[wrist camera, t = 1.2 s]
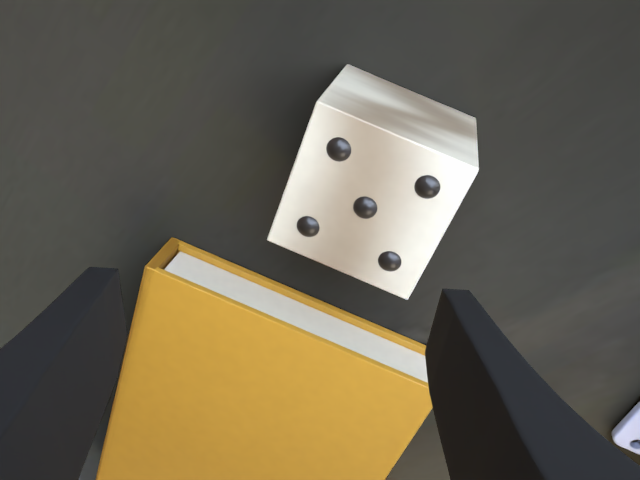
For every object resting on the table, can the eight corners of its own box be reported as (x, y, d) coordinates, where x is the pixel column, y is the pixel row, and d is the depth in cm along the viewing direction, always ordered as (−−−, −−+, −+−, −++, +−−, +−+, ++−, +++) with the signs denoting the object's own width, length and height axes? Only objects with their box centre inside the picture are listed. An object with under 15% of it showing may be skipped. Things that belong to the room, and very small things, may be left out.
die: (476, 118, 21) (480, 172, 16) (418, 231, 23) (406, 304, 19) (346, 63, 21) (314, 102, 16) (302, 181, 23) (264, 243, 19)
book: (444, 352, 26) (442, 393, 24) (317, 553, 35) (307, 596, 32) (171, 236, 26) (144, 265, 24) (113, 464, 35) (89, 502, 33)
